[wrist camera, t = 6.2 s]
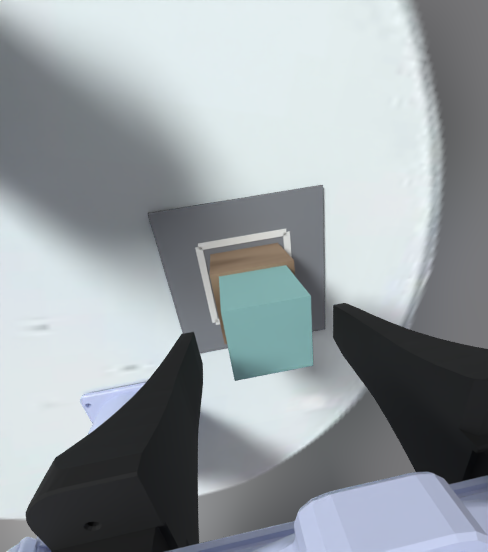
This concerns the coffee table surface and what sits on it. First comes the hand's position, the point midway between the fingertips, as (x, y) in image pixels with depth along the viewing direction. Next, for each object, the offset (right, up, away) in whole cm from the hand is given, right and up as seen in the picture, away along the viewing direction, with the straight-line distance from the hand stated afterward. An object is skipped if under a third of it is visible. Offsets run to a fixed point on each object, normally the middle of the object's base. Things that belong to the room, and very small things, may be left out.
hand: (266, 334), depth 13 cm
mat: (-1, +3, +7) cm, 7 cm away
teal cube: (0, +1, +3) cm, 3 cm away
